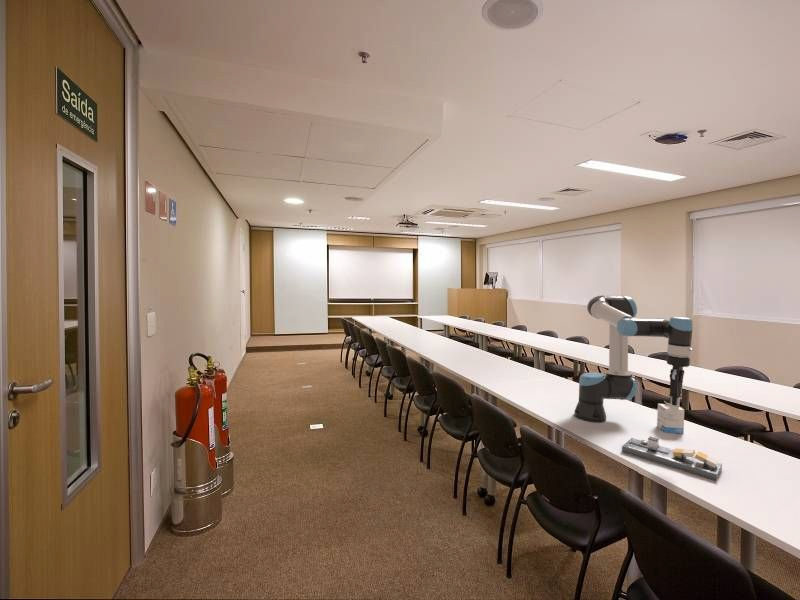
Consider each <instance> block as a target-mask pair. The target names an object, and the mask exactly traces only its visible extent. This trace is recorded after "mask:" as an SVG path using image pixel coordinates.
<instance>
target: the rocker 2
mask: <svg viewBox="0 0 800 600" xmlns="http://www.w3.org/2000/svg"><path fill="white" fill-rule="evenodd" d="M694 456H695V458H696V459H698V460H700V461H702V462H704V463H706V464H708V465H710V466H712V467H714V468H715V467H716V465H717V463H718V462H719V460H718V459H716V458H714V457H712V456H710V455H708V454H706V453H704V452H702V451H699V450H698V451H697V452H696V453H695V455H694Z"/></svg>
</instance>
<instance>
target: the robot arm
mask: <svg viewBox="0 0 800 600" xmlns="http://www.w3.org/2000/svg"><path fill="white" fill-rule="evenodd" d="M637 308H638V307H637V303H636V302H635V300H634V299H633V298H632V297H630V296H625V295H597V296H595V297H593V298H591V299H590V300H589V301H588V303H587V312H588V314H589V315H590V316H591V317H593V318H595V319H597V320H602V321H604V322H606V323H607V324H608V325H609V326H608V327H609V328H608V329H609V334H608V335H609V337H608V339H609V340H608V342H609V343H608V344H609V345H608V346H609V348H608V349H609V351H608V362H609V363H608V364H609V365H608V370H607V371H605V374H604V373H602V372H593V371H592V372H585V373H582V374H581V375H580V376H579V381H578V401H577V404H576V406H575V409H574V415H573V416H574V417H575V418H576V419H579V420H581V421H584V422H589V423H596V424H597V423H605V422H606V421H607V414H606V410H605V407H604V399H605V400H620V401H623V400H631V399H633V398H634V397H635V395H636V393H637V387H638V386H637V383H636V379H635V378H633V377H632V374H631V372H629V337H652V338H655V337H656V338H664V339H665V338H667V339H668V340H667V351H666V353H667V355H666V363H667V365H669V366H672V369H670V374H669V394H668V397H670V403H669V404H670V412H672V413H677V414H678V413H679V407H680V402H681V401H680V400H681V398H683V395H682V390H683V389H682V388H683V382H684V375H685V369H684V368H688V367H690V364H691V362H690V361H691V358H690V356H691V352H693V348H692V347H691V346H692V337H693V330H694V328H693V319H691V318H690V317H684V316H683V317H682V316H671V317H670V318H669V319H665V318H654V319H653V318H636V316H637V312H638V309H637Z"/></svg>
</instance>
